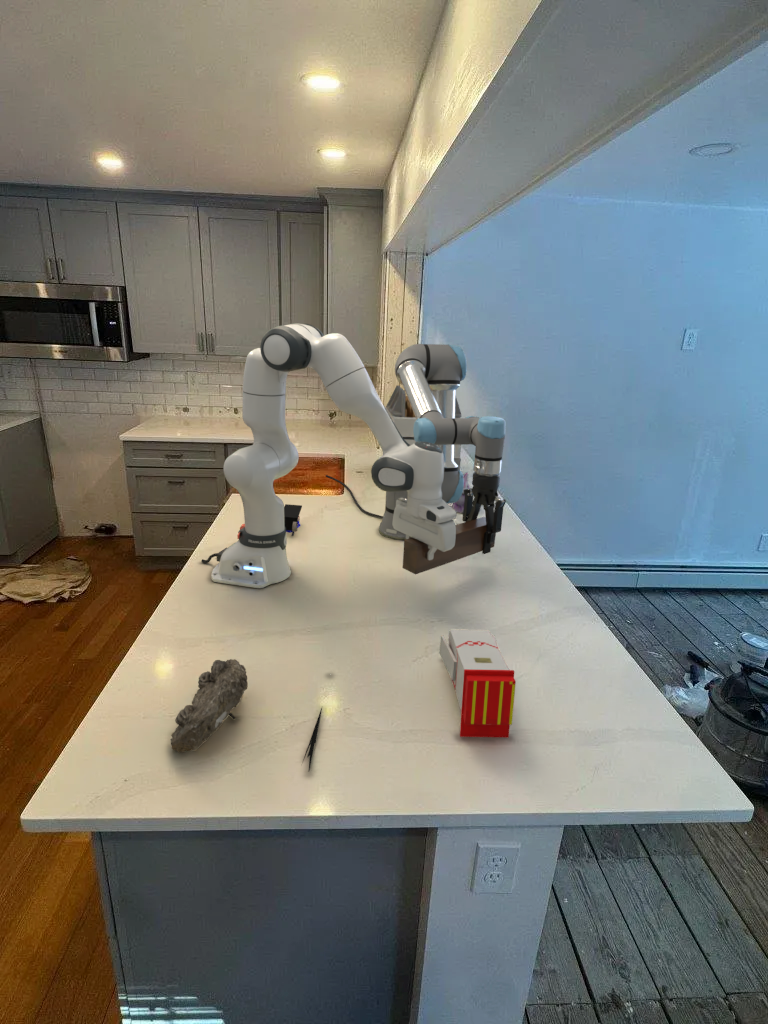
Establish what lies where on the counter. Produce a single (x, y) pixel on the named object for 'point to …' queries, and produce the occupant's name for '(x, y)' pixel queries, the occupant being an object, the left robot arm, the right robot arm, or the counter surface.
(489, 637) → the toy
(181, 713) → the fossil
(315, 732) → the feather
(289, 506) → the figurine character
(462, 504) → the figurine
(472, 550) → the walnut beam
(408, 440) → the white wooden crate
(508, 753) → the counter surface
